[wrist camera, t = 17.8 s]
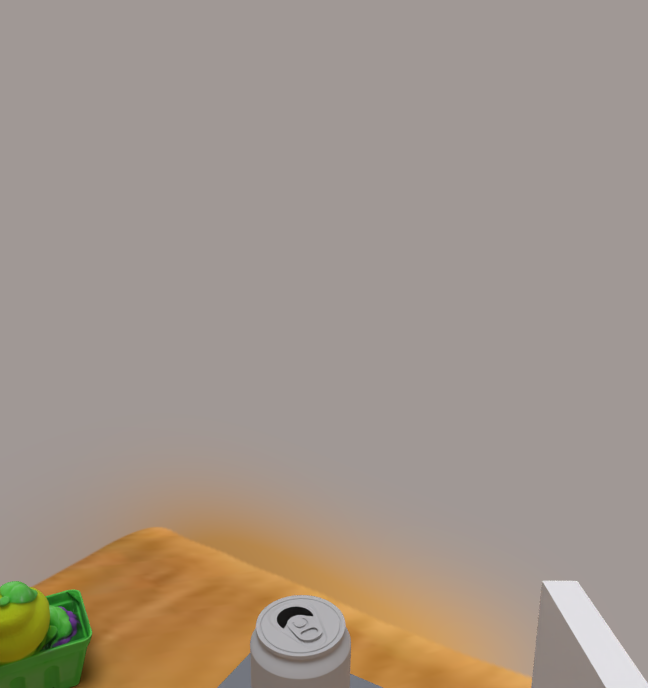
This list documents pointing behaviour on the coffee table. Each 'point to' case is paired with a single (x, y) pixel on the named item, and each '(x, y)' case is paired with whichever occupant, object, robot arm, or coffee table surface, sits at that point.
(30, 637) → the fruit basket
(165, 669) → the coffee table surface
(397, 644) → the coffee table surface
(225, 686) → the board
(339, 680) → the beverage can
